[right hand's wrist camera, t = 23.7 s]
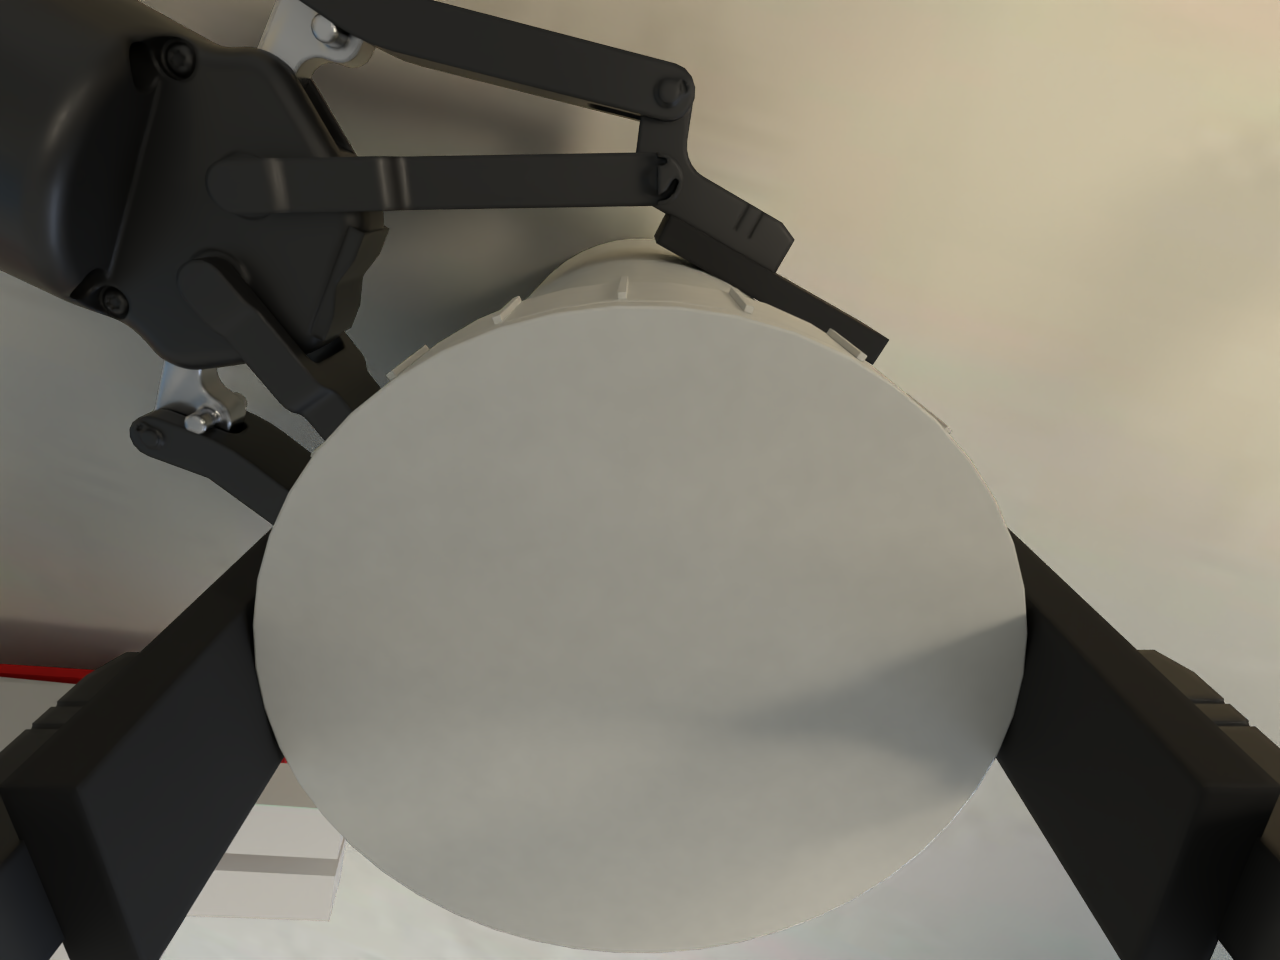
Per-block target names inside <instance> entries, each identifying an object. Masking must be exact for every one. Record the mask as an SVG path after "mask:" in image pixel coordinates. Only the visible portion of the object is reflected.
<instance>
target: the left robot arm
mask: <svg viewBox="0 0 1280 960" xmlns="http://www.w3.org/2000/svg"><path fill="white" fill-rule="evenodd" d="M375 47H377V48H378V49H380V50H382V51H384V52H386V53H389V54H391V55H393V56H395V57H397V58H399V59H402V60H404V61H407V62H410V63H413V64H416V65H419V66H422V67H426V68H430V69H434V70H438V71H442V72H446V73H450V74H454V75H458V76H462V77H466V78H470V79H474V80H478V81H482V82H486V83H490V84H494V85H498V86H502V87H505V88H509V89H513V90H517V91H521V92H525V93H529V94H533V95H537V96H541V97H545V98H549V99H553V100H557V101H561V102H565V103H569V104H573V105H577V106H581V107H585V108H588V109H592V110H596V111H600V112H604V113H608V114H612V115H616V116H620V117H624V118H628V119H632V120H636V121H640V125H639V133H638V141H637V149H636V153H591V154H532V155H473V156H415V157H389V156H371V157H357V155H356V154H355V152H354V150H353V148H352V147H351V145H350V143H349V142H348V140H347V138H346V136H345V135H344V133H343V131H342V129H341V128H340V126H339V124H338V123H337V121H336V119H335V117H334V116H333V114H332V112H331V110H330V109H329V107H328V105H327V104H326V102H325V100H324V98H323V97H322V95H321V93H320V91H319V90H318V88H317V86H316V85H315V83H314V81H313V80H312V79H311V77H312V75H313V73H314V72H315V70H316V69H317V68H318V67H320V66H321V65H324V64H326V63H336V64H339V65H342V66H345V67H348V68H358V67H361V66H363V65H364V64H366V63H367V62H368V61H369V59H370V58H371V56H372V54H373V52H374V50H375ZM694 98H695V86H694V83H693V79H692V76H691V75H690V74H689V73H688V72H687V70H686V69H685V68H683V67H681V66H679V65H677V64H675V63H671V62H668V61H664V60H660V59H656V58H652V57H648V56H644V55H641V54H637V53H633V52H629V51H625V50H621V49H618V48H614V47H610V46H606V45H602V44H598V43H595V42H591V41H587V40H583V39H579V38H575V37H572V36H568V35H564V34H560V33H556V32H552V31H549V30H545V29H541V28H537V27H533V26H529V25H526V24H522V23H518V22H514V21H510V20H506V19H503V18H499V17H495V16H491V15H487V14H483V13H480V12H476V11H472V10H468V9H464V8H460V7H457V6H453V5H449V4H445V3H441V2H437V1H434V0H276V2H275V4H274V7H273V9H272V12H271V14H270V17H269V19H268V22H267V24H266V27H265V29H264V32H263V35H262V37H261V40H260V42H259V45H258V47H257V48H254V47H223V46H220V45H218V44H216V43H214V42H212V41H210V40H208V39H206V38H205V37H203V36H201V35H199V34H197V33H195V32H194V31H192V30H190V29H188V28H186V27H185V26H183V25H181V24H179V23H177V22H175V21H174V20H172V19H170V18H168V17H166V16H165V15H163V14H161V13H159V12H157V11H155V10H154V9H152V8H150V7H148V6H146V5H145V4H143V3H141V2H139V1H137V0H0V270H1V271H4V272H6V273H8V274H10V275H12V276H14V277H16V278H18V279H21V280H23V281H25V282H27V283H29V284H31V285H33V286H35V287H38V288H40V289H42V290H44V291H46V292H48V293H50V294H52V295H55V296H57V297H59V298H61V299H63V300H65V301H68V302H70V303H73V304H75V305H78V306H80V307H83V308H86V309H89V310H92V311H94V312H97V313H100V314H103V315H106V316H109V317H112V318H114V319H117V320H119V321H121V322H123V323H125V324H126V325H128V326H129V327H130V328H132V329H133V330H134V331H135V332H136V333H138V334H139V335H140V336H141V337H142V338H143V339H144V340H145V341H146V342H147V343H148V345H149V346H150V347H151V348H152V349H153V350H154V351H155V352H156V353H157V354H158V355H159V356H160V357H161V358H163V359H164V363H163V368H162V373H161V379H160V384H159V389H158V394H157V399H156V404H155V408H154V410H153V411H152V412H150V413H148V414H146V415H144V416H142V417H139V418H138V419H136V420H135V421H134V422H133V423H132V425H131V427H130V438H131V440H132V442H133V444H134V446H135V447H136V448H137V449H138V450H139V451H140V452H142V453H144V454H146V455H147V456H150V457H152V458H155V459H158V460H161V461H163V462H166V463H169V464H172V465H174V466H177V467H180V468H182V469H185V470H188V471H191V472H193V473H196V474H199V475H202V476H204V477H207V478H209V479H211V480H212V481H213V482H215V483H216V484H217V485H219V486H220V487H222V488H223V489H224V490H226V491H227V492H228V493H230V494H231V495H233V496H234V497H235V498H237V499H238V500H239V501H241V502H242V503H244V504H245V505H246V506H248V507H249V508H250V509H252V510H253V511H255V512H256V513H257V514H259V515H260V516H261V517H263V518H264V519H266V520H267V521H268V522H270V523H271V524H272V525H274V524H275V522H276V519H277V517H278V515H279V513H280V510H281V508H282V506H283V504H284V502H285V499H286V497H287V495H288V493H289V491H290V490H291V488H292V487H293V485H294V484H295V482H296V481H297V479H298V478H299V476H300V475H301V473H302V472H303V470H304V469H305V467H306V466H307V464H308V463H309V461H310V459H311V458H312V457H310V456H311V453H310V452H309V451H308V450H306V449H305V448H304V447H302V446H301V445H300V444H298V443H297V442H296V441H295V440H293V439H292V438H291V437H289V436H288V435H287V434H285V433H284V432H283V431H281V430H280V429H278V428H277V427H275V426H274V425H273V424H271V423H269V422H267V421H266V420H264V419H262V418H260V417H258V416H256V415H254V414H252V413H250V412H247V411H246V409H245V408H246V407H247V400H246V398H245V397H244V396H243V395H242V394H240V393H238V392H232V391H231V390H229V389H228V388H226V387H225V385H224V384H223V383H222V382H221V380H220V378H219V376H218V372H217V368H219V367H226V366H233V365H240V364H247V365H248V366H249V367H250V369H251V370H252V371H253V372H254V373H255V374H256V376H257V377H258V378H259V379H260V380H261V381H262V383H263V384H264V385H265V386H266V387H267V388H268V390H269V391H270V392H271V393H272V394H273V395H274V397H275V398H276V399H277V400H278V401H279V402H280V403H281V404H282V405H283V406H284V407H285V408H286V409H288V410H289V411H291V412H293V413H297V414H300V415H302V416H303V417H305V418H306V419H307V420H308V421H309V423H310V424H311V425H312V426H313V427H314V429H315V430H316V431H317V432H318V433H319V434H320V436H321V437H322V438H323V439H324V440H325V441H326V440H327V439H328V438H329V436H330V435H331V434H332V433H333V432H334V431H335V430H336V429H337V428H338V427H339V426H340V424H341V423H342V422H343V421H344V420H345V419H346V418H347V417H348V416H349V415H350V414H351V413H352V412H353V411H354V410H355V409H356V408H358V407H359V406H360V405H361V404H363V403H364V402H365V401H366V400H368V399H369V398H370V397H371V396H373V395H374V394H375V393H376V392H378V391H379V390H380V389H381V388H380V387H379V385H378V384H377V383H376V382H375V380H374V379H373V378H372V377H371V375H370V374H369V372H368V370H367V367H366V361H365V359H364V356H363V355H362V353H361V352H360V351H359V349H358V348H357V347H356V346H355V344H354V343H353V342H352V341H351V339H350V338H349V337H348V335H347V334H346V333H345V332H344V331H346V330H348V329H350V328H351V327H352V324H353V322H354V319H355V316H356V314H357V311H358V309H359V306H360V301H361V290H362V279H363V275H364V273H365V272H366V271H367V270H368V268H369V267H370V266H371V264H372V263H373V262H374V261H375V259H376V258H377V257H378V255H379V254H380V252H381V249H382V247H383V244H384V241H385V239H386V236H387V234H388V231H389V228H387V227H385V226H384V213H383V211H396V210H431V209H492V208H552V207H612V206H653V207H655V208H657V209H658V210H660V211H662V212H664V213H665V216H664V218H663V220H662V222H661V224H660V226H659V227H658V229H657V231H656V233H655V235H654V237H655V241H656V244H658V245H660V246H662V247H664V248H665V249H667V250H669V251H671V252H673V253H674V254H676V255H678V256H680V257H681V258H683V259H685V260H687V261H689V262H690V263H692V264H694V265H696V266H697V267H699V268H701V269H703V270H705V271H706V272H708V273H710V274H712V275H714V276H715V277H717V278H719V279H721V280H722V281H724V282H726V283H728V284H730V285H731V286H733V287H735V288H737V289H738V290H740V291H742V292H744V293H746V294H747V295H749V296H751V297H753V298H755V299H756V300H758V301H760V302H763V303H766V304H768V305H771V306H773V307H775V308H777V309H780V310H782V311H784V312H786V313H789V314H791V315H793V316H795V317H797V318H800V319H802V320H804V321H806V322H809V323H811V324H812V325H814V326H815V327H817V328H819V329H820V330H822V331H823V332H825V333H826V334H827V332H828V330H829V329H830V328H831V329H832V330H834V331H836V332H837V333H838V334H839V335H841V336H842V337H843V338H845V339H846V340H847V341H849V342H850V343H851V344H852V345H854V346H855V347H856V348H858V349H859V350H860V351H862V352H863V353H864V354H865V355H867V357H866V359H865V361H867V362H869V363H870V364H872V365H873V364H874V362H875V361H876V359H877V358H878V356H879V355H880V353H881V352H882V350H883V349H884V347H885V345H886V344H887V342H888V341H889V339H887V338H886V337H884V336H883V335H881V334H880V333H878V332H876V331H875V330H873V329H872V328H870V327H869V326H867V325H865V324H864V323H862V322H861V321H859V320H857V319H855V318H854V317H852V316H850V315H848V314H847V313H845V312H843V311H841V310H840V309H838V308H836V307H834V306H833V305H831V304H829V303H827V302H826V301H824V300H822V299H820V298H819V297H817V296H815V295H813V294H812V293H810V292H808V291H806V290H805V289H803V288H801V287H799V286H798V285H796V284H794V283H792V282H791V281H789V280H787V279H785V278H784V277H782V276H780V275H778V274H777V273H776V271H777V269H778V267H779V266H780V264H781V262H782V261H783V259H784V257H785V255H786V254H787V252H788V250H789V249H790V247H791V245H792V243H793V242H794V238H793V237H792V236H791V234H790V233H789V232H788V230H787V229H786V227H785V226H784V225H783V223H782V222H780V221H778V220H776V219H775V218H773V217H771V216H770V215H768V214H766V213H764V212H763V211H761V210H759V209H758V208H756V207H754V206H753V205H751V204H749V203H747V202H746V201H744V200H742V199H741V198H739V197H737V196H735V195H734V194H732V193H730V192H729V191H727V190H725V189H724V188H722V187H720V186H718V185H717V184H715V183H713V182H712V181H710V180H708V179H706V178H705V177H703V176H702V175H701V174H699V173H698V172H697V171H696V170H695V169H694V167H693V166H692V165H691V162H690V160H689V158H688V153H687V138H688V131H689V125H690V118H691V111H692V105H693V101H694ZM306 355H307V356H306Z"/></svg>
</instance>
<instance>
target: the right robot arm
mask: <svg viewBox="0 0 1280 960" xmlns="http://www.w3.org/2000/svg"><path fill="white" fill-rule="evenodd" d="M271 530H272V528H271V529H270V530H269V531H268V532H267V533H266V534H265V535H264V536H263V537H262V538H261V539H260V540H259V541H258V542H257V543H256V544H254V545H253V546H252V547H251V548H250V549H249V550H248V551H247V552H246V553H245V554H244V555H243V556H242V557H241V558H240V559H239V560H238V561H236V562H235V563H234V564H233V565H232V566H231V567H230V568H229V569H228V570H227V571H226V572H225V573H224V574H223V575H222V576H221V577H220V578H218V579H217V580H216V581H215V582H214V583H213V584H212V585H211V586H210V587H209V588H208V589H207V590H206V591H205V592H204V593H203V594H202V595H200V596H199V597H198V598H197V599H196V600H195V601H194V602H193V603H192V604H191V605H190V606H189V607H188V608H187V609H186V610H185V611H184V612H182V613H181V614H180V615H179V616H178V617H177V618H176V619H175V620H174V621H173V622H172V623H171V624H170V625H169V626H168V627H167V628H166V629H164V630H163V631H162V632H161V633H160V634H159V635H158V636H157V637H156V638H155V639H154V640H153V641H152V642H151V643H150V644H149V645H147V646H146V647H145V648H144V649H143V650H142V651H141V652H126V653H124V654H123V655H121V656H119V657H117V658H116V659H114V660H112V661H110V662H108V663H107V664H105V665H103V666H101V667H100V668H98V669H96V670H94V671H93V672H91V673H89V674H87V675H86V676H85V677H84V678H82V679H81V680H80V681H79V682H78V683H77V684H76V685H75V686H74V687H72V688H71V689H70V690H69V691H68V692H67V693H66V694H65V695H63V696H62V697H61V698H60V699H59V700H58V701H57V705H56V707H50V708H49V709H48V710H47V711H46V712H44V713H43V714H42V715H41V716H40V717H39V718H38V719H37V720H35V721H34V722H33V723H32V728H31V729H25V730H24V731H23V732H22V733H21V734H20V735H19V736H18V737H16V738H15V739H14V740H13V741H12V742H11V743H10V744H9V745H7V746H6V747H5V748H4V749H3V750H2V751H1V752H0V960H50V958H51V957H52V956H53V954H54V953H55V952H56V950H57V949H58V948H59V946H60V945H61V944H62V943H63V945H64V948H65V950H66V952H67V955H68V957H69V959H70V960H159V959H160V957H161V956H162V954H163V953H164V951H165V949H166V948H167V946H168V945H169V943H170V941H171V940H172V938H173V936H174V935H175V933H176V932H177V930H178V928H179V927H180V925H181V923H182V922H183V920H184V919H185V917H186V915H187V914H188V912H189V910H190V909H191V907H192V906H193V904H194V902H195V901H196V899H197V898H198V896H199V894H200V893H201V891H202V889H203V888H204V886H205V885H206V883H207V881H208V880H209V878H210V876H211V875H212V873H213V872H214V870H215V868H216V867H217V865H218V863H219V862H220V860H221V859H222V857H223V855H224V854H225V852H226V851H227V849H228V847H229V846H230V844H231V842H232V841H233V839H234V838H235V836H236V834H237V833H238V831H239V829H240V828H241V826H242V825H243V823H244V821H245V820H246V818H247V816H248V815H249V813H250V812H251V810H252V808H253V807H254V805H255V804H256V802H257V800H258V799H259V797H260V795H261V794H262V792H263V791H264V789H265V787H266V786H267V784H268V782H269V781H270V779H271V778H272V776H273V774H274V773H275V771H276V769H277V768H278V766H279V765H280V763H281V761H282V760H283V758H284V755H283V753H282V751H281V750H280V748H279V746H278V743H277V740H276V738H275V735H274V732H273V730H272V727H271V725H270V722H269V719H268V717H267V714H266V711H265V709H264V705H263V700H262V695H261V691H260V686H259V682H258V677H257V672H256V668H255V653H254V636H253V618H254V608H255V598H256V588H257V579H258V575H259V571H260V568H261V564H262V560H263V557H264V553H265V549H266V545H267V542H268V538H269V535H270V533H271ZM1008 531H1009V533H1010V535H1011V538H1012V540H1013V543H1014V546H1015V550H1016V554H1017V559H1018V563H1019V567H1020V571H1021V576H1022V580H1023V584H1024V589H1025V604H1026V619H1027V644H1026V654H1025V665H1024V675H1023V679H1022V683H1021V687H1020V691H1019V696H1018V700H1017V704H1016V708H1015V712H1014V716H1013V718H1012V721H1011V723H1010V725H1009V728H1008V730H1007V733H1006V735H1005V738H1004V740H1003V742H1002V745H1001V747H1000V750H999V752H998V754H997V756H996V758H997V760H998V762H999V763H1000V765H1001V767H1002V768H1003V770H1004V771H1005V773H1006V775H1007V776H1008V778H1009V780H1010V781H1011V783H1012V784H1013V786H1014V788H1015V789H1016V791H1017V792H1018V794H1019V796H1020V797H1021V799H1022V801H1023V802H1024V804H1025V805H1026V807H1027V809H1028V810H1029V812H1030V814H1031V815H1032V817H1033V818H1034V820H1035V822H1036V823H1037V825H1038V827H1039V828H1040V830H1041V831H1042V833H1043V835H1044V836H1045V838H1046V839H1047V841H1048V843H1049V844H1050V846H1051V848H1052V849H1053V851H1054V852H1055V854H1056V856H1057V857H1058V859H1059V861H1060V862H1061V864H1062V865H1063V867H1064V869H1065V870H1066V872H1067V874H1068V875H1069V877H1070V878H1071V880H1072V882H1073V883H1074V885H1075V886H1076V888H1077V890H1078V891H1079V893H1080V895H1081V896H1082V898H1083V899H1084V901H1085V903H1086V904H1087V906H1088V908H1089V909H1090V911H1091V912H1092V914H1093V916H1094V917H1095V919H1096V921H1097V922H1098V924H1099V925H1100V927H1101V929H1102V930H1103V932H1104V933H1105V935H1106V937H1107V938H1108V940H1109V942H1110V943H1111V945H1112V946H1113V948H1114V950H1115V951H1116V953H1117V955H1118V956H1119V958H1120V959H1121V960H1210V959H1211V956H1212V954H1213V952H1214V949H1215V947H1216V945H1217V942H1218V940H1219V941H1220V942H1221V944H1222V945H1223V946H1224V948H1225V949H1226V950H1227V952H1228V953H1229V954H1230V956H1231V957H1232V958H1233V959H1234V960H1280V748H1279V747H1278V746H1277V745H1275V744H1274V743H1273V742H1272V741H1271V740H1270V739H1269V738H1268V737H1266V736H1265V735H1264V734H1263V733H1262V732H1261V731H1260V730H1259V729H1257V728H1256V727H1250V726H1249V721H1248V720H1247V719H1246V718H1245V717H1244V716H1243V715H1242V714H1240V713H1239V712H1238V711H1237V710H1236V709H1235V708H1234V707H1233V706H1231V705H1230V704H1225V703H1224V698H1222V697H1221V696H1220V695H1219V694H1218V693H1217V692H1216V691H1215V690H1213V689H1212V688H1211V687H1210V686H1209V685H1208V684H1207V683H1206V682H1204V681H1203V680H1202V679H1201V678H1200V677H1199V676H1198V675H1197V674H1195V673H1194V672H1193V671H1191V670H1189V669H1187V668H1185V667H1184V666H1182V665H1180V664H1178V663H1177V662H1175V661H1173V660H1171V659H1169V658H1168V657H1166V656H1164V655H1162V654H1161V653H1159V652H1157V651H1155V650H1137V649H1135V648H1134V647H1133V646H1132V645H1131V644H1130V643H1129V642H1128V641H1127V640H1126V639H1125V638H1124V637H1123V636H1122V635H1121V634H1120V633H1119V632H1117V631H1116V630H1115V629H1114V628H1113V627H1112V626H1111V625H1110V624H1109V623H1108V622H1107V621H1106V620H1105V619H1104V618H1103V617H1102V616H1101V615H1099V614H1098V613H1097V612H1096V611H1095V610H1094V609H1093V608H1092V607H1091V606H1090V605H1089V604H1088V603H1087V602H1086V601H1085V600H1084V599H1082V598H1081V597H1080V596H1079V595H1078V594H1077V593H1076V592H1075V591H1074V590H1073V589H1072V588H1071V587H1070V586H1069V585H1068V584H1067V583H1066V582H1064V581H1063V580H1062V579H1061V578H1060V577H1059V576H1058V575H1057V574H1056V573H1055V572H1054V571H1053V570H1052V569H1051V568H1050V567H1049V566H1048V565H1046V564H1045V563H1044V562H1043V561H1042V560H1041V559H1040V558H1039V557H1038V556H1037V555H1036V554H1035V553H1034V552H1033V551H1032V550H1031V549H1030V548H1028V547H1027V546H1026V545H1025V544H1024V543H1023V542H1022V541H1021V540H1020V539H1019V538H1018V537H1017V536H1016V535H1015V534H1014V533H1013V532H1012V531H1010V530H1009V529H1008Z"/></svg>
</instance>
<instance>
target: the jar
mask: <svg viewBox="0 0 1280 960" xmlns="http://www.w3.org/2000/svg"><path fill="white" fill-rule="evenodd" d="M621 276H628V282H668V283H677V284H683V285H690V286H697V287H704V288H710V289H717V290H722V291H725V292H728V293H729V292H730V288H731V287H733V286H731V285H730V284H728V283H726V282H724V281H722V280H721V279H719V278H717V277H715V276H714V275H712V274H710V273H708V272H706V271H705V270H703V269H701V268H699V267H697V266H696V265H694V264H692V263H690V262H689V261H687V260H685V259H683V258H681V257H680V256H678V255H676V254H674V253H673V252H671V251H669V250H667V249H665V248H664V247H662V246H660V245H658V244H656V241H655V239H639V238H632V239H624V240H616V241H612V242H608V243H604V244H600V245H597V246H595V247H592V248H590V249H587V250H585V251H583V252H581V253H579V254H577V255H575V256H574V257H572V258H570V259H569V260H567V261H565V262H564V263H563V264H562V265H560V266H559V267H558V268H557V269H555V270H554V271H553V272H552V273H551V274H550V275H549V276H548V277H547V278H546V279H545V280H544V281H543V282H542V283H541V284H540V285H539V286H538V287H537V288H536V289H535V290H534V291H533V292H532V293H531V295H530V296H529V297H528V298H527V299H530V298H534V297H538V296H542V295H545V294H549V293H553V292H557V291H561V290H564V289H568V288H574V287H582V286H590V285H598V284H607V283H615V282H620V277H621ZM733 288H735V287H733ZM739 291H740V290H739ZM740 292H741V293H742V294H743V295H744V296H745V297H746V298H749V299H752V300H755V299H754V298H753V297H751V296H749V295H747V294H746V293H744V292H742V291H740Z"/></svg>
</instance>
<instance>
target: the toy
mask: <svg viewBox="0 0 1280 960" xmlns="http://www.w3.org/2000/svg"><path fill="white" fill-rule="evenodd" d="M93 671H94V670H88V669H73V668H57V667H42V666H26V665H11V664H0V752H1V751H2V750H3V749H4V748H5V747H6V746H7V745H9V744H10V743H11V742H12V741H13V740H14V739H15V738H16V737H18V736H19V735H20V734H21V733H22V732H23V731H24V730H25V729H31V728H32V723H33V722H34V721H35V720H37V719H38V718H39V717H40V716H41V715H42V714H43V713H44V712H46V711H47V710H48V709H49V708H50V707H56V705H57V701H58V700H59V699H60V698H61V697H62V696H63V695H65V694H66V693H67V692H68V691H69V690H70V689H71V688H72V687H74V686H75V685H76V684H77V683H78V682H79V681H80V680H81V679H82V678H84V677H85V676H86V675H87V674H89V673H91V672H93ZM345 842H346V839H345V838H344V837H343V836H342V835H341V834H340V833H339V832H338V831H337V830H336V829H335V828H334V827H333V826H332V825H331V824H330V823H329V821H328V820H327V819H326V818H325V817H324V816H323V815H322V814H321V812H320V811H319V810H318V808H317V807H316V805H315V804H314V803H313V801H312V800H311V799H310V797H309V796H308V795H307V793H306V792H305V791H304V789H303V788H302V787H301V785H300V784H299V782H298V780H297V779H296V777H295V775H294V773H293V771H292V770H291V768H290V766H289V764H288V763H287V761H286V759H285V757H284V758H283V760H282V761H281V763H280V765H279V766H278V768H277V769H276V771H275V773H274V774H273V776H272V778H271V779H270V781H269V782H268V784H267V786H266V787H265V789H264V791H263V792H262V794H261V795H260V797H259V799H258V800H257V802H256V804H255V805H254V807H253V808H252V810H251V812H250V813H249V815H248V816H247V818H246V820H245V821H244V823H243V825H242V826H241V828H240V829H239V831H238V833H237V834H236V836H235V838H234V839H233V841H232V842H231V844H230V846H229V847H228V849H227V851H226V852H225V854H224V855H223V857H222V859H221V860H220V862H219V863H218V865H217V867H216V868H215V870H214V872H213V873H212V875H211V876H210V878H209V880H208V881H207V883H206V885H205V886H204V888H203V889H202V891H201V893H200V894H199V896H198V898H197V899H196V901H195V902H194V904H193V906H192V907H191V909H190V910H189V912H188V914H187V915H186V916H199V917H226V918H253V919H280V920H307V921H329V920H330V916H331V912H332V908H333V904H334V901H335V897H336V893H337V889H338V885H339V881H340V877H341V871H342V864H343V856H344V849H345ZM165 950H166V949H165ZM164 952H165V951H164ZM163 954H164V953H163ZM163 954H162V956H163ZM162 956H161V957H160V959H159V960H161V958H162ZM50 960H70V959H69V957H68V955H67V952H66V950H65V948H64V945H63V943H62V944H61V945H60V946H59V948H58V949H57V950H56V952H55V953H54V954H53V956H52V957H51V958H50Z"/></svg>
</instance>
